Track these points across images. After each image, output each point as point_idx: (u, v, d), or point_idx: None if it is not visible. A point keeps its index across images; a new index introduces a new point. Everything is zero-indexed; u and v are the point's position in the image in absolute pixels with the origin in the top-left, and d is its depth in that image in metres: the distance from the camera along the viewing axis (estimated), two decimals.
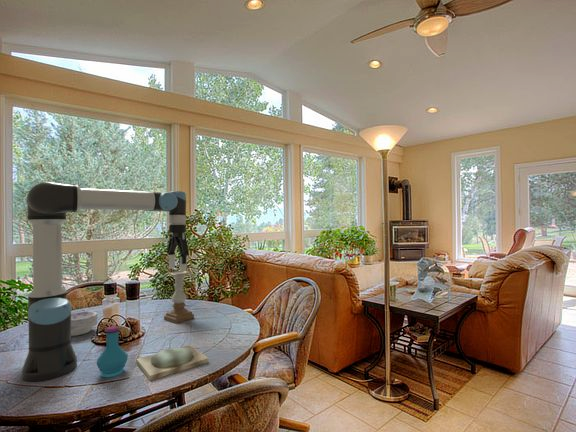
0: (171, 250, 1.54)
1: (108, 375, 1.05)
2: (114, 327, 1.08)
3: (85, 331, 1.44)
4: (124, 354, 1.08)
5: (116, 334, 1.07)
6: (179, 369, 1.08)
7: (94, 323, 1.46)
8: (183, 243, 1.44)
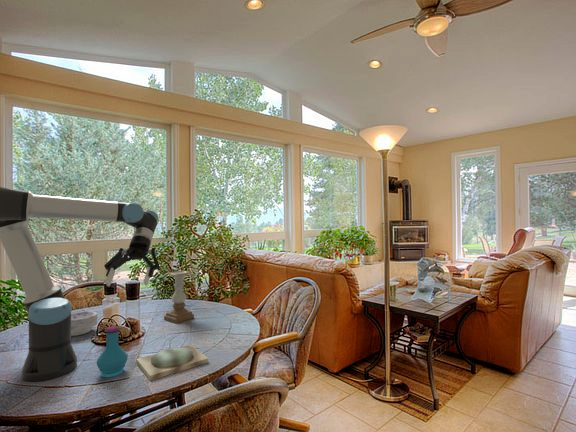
0: (117, 264, 1.24)
1: (108, 375, 1.05)
2: (114, 327, 1.08)
3: (85, 331, 1.44)
4: (124, 354, 1.08)
5: (116, 334, 1.07)
6: (179, 369, 1.08)
7: (94, 323, 1.46)
8: (155, 256, 1.28)
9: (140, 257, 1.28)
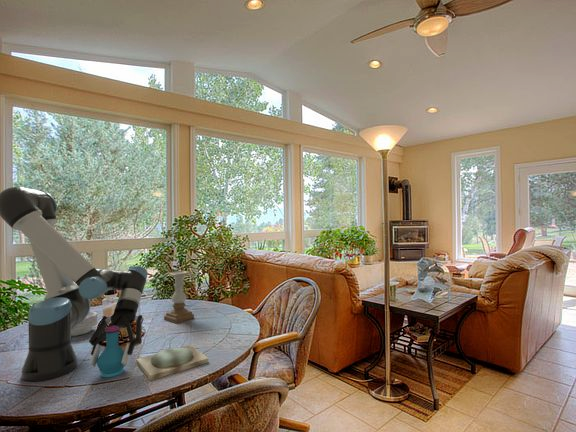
0: (103, 337, 1.10)
1: (108, 375, 1.05)
2: (114, 327, 1.08)
3: (85, 331, 1.44)
4: None
5: (116, 334, 1.07)
6: (179, 369, 1.08)
7: (94, 323, 1.46)
8: (140, 326, 1.14)
9: None
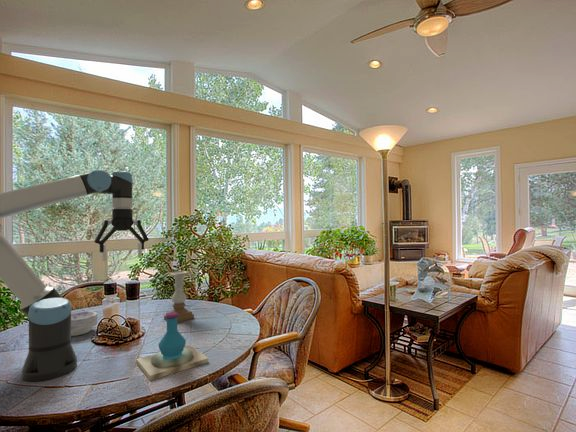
0: (107, 239, 1.31)
1: (170, 358, 1.12)
2: (173, 313, 1.15)
3: (85, 331, 1.44)
4: (183, 338, 1.15)
5: (175, 320, 1.14)
6: (179, 369, 1.08)
7: (94, 323, 1.46)
8: None
9: (127, 229, 1.36)
